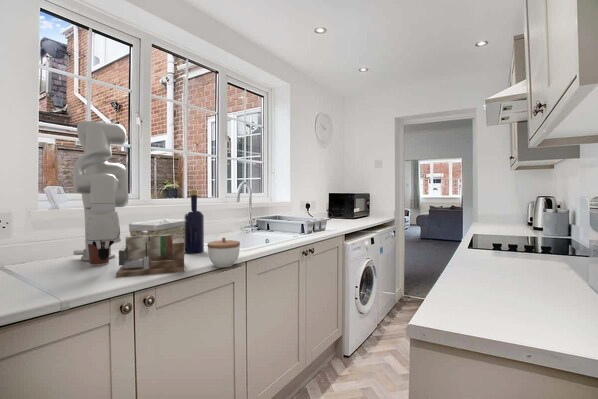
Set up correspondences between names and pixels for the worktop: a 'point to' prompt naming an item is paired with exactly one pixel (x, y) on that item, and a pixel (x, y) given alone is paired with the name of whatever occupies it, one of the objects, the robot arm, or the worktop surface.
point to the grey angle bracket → (129, 262)
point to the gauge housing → (155, 254)
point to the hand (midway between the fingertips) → (103, 259)
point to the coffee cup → (96, 255)
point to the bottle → (194, 228)
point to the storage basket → (158, 228)
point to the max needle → (146, 260)
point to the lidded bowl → (223, 252)
